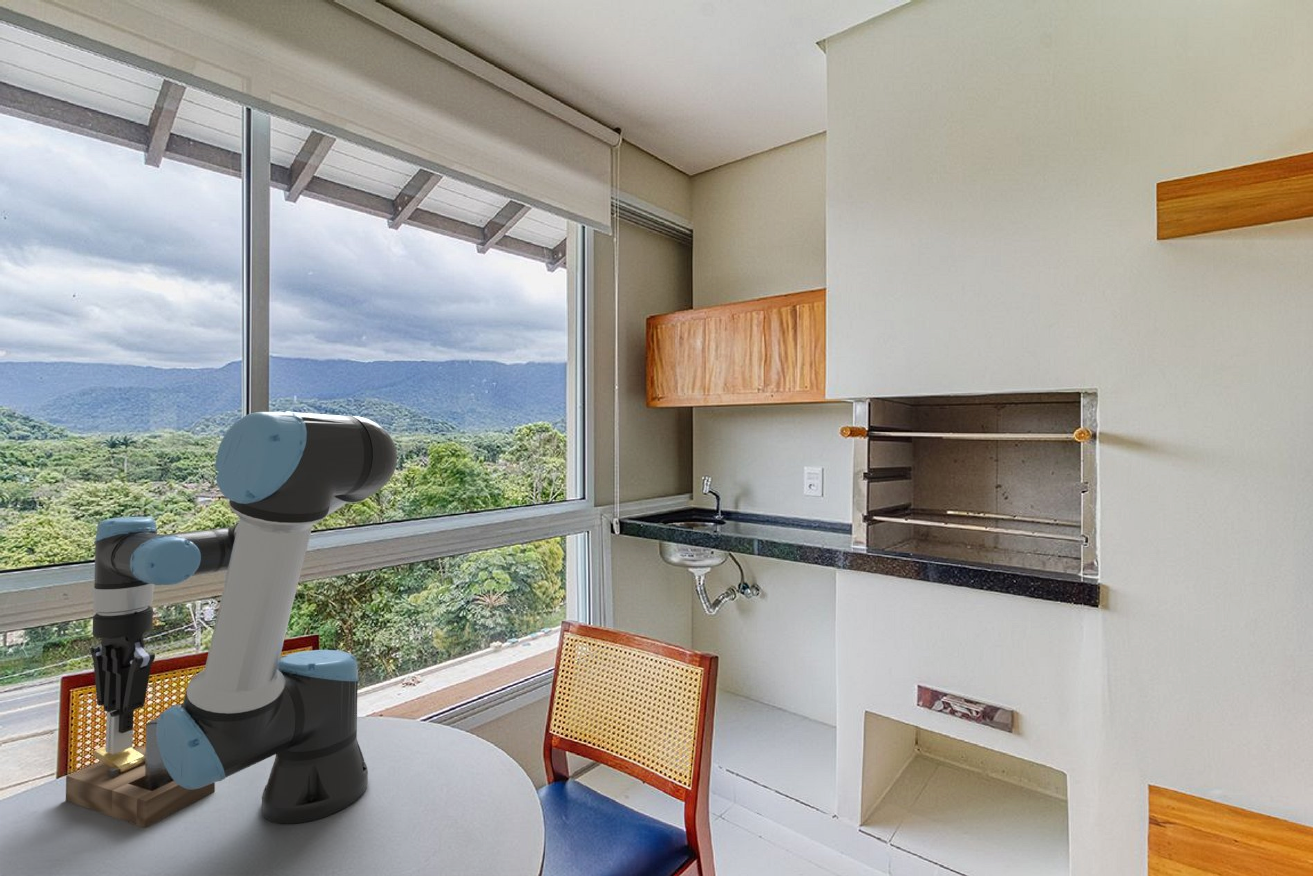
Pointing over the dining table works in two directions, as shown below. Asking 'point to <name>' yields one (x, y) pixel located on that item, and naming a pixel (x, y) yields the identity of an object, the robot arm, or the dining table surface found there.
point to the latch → (120, 758)
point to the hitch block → (128, 793)
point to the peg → (154, 760)
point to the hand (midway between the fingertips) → (118, 749)
